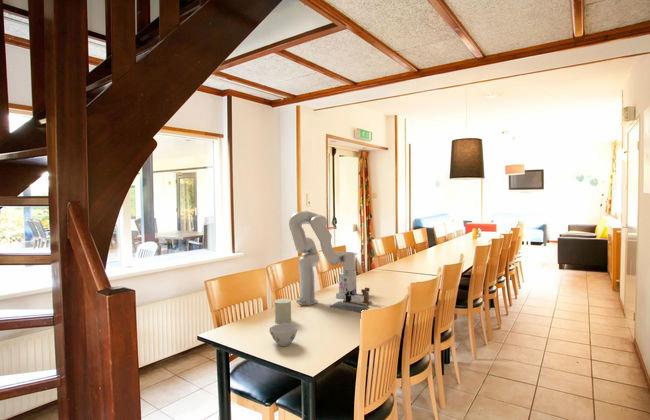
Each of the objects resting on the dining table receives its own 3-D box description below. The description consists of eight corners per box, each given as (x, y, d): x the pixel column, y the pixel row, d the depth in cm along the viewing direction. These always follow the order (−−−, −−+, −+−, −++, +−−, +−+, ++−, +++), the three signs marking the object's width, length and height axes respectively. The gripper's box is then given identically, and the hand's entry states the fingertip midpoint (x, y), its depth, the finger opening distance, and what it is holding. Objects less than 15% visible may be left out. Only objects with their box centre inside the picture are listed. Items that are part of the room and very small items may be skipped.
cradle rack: (366, 306, 227) (366, 290, 226) (342, 302, 236) (342, 287, 236) (371, 303, 234) (371, 287, 233) (348, 299, 243) (348, 284, 242)
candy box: (346, 298, 245) (345, 274, 244) (338, 297, 249) (338, 273, 248) (356, 293, 256) (356, 270, 255) (349, 292, 260) (349, 269, 259)
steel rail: (361, 302, 219) (361, 297, 219) (336, 298, 229) (336, 293, 229) (363, 301, 222) (363, 296, 222) (338, 297, 231) (338, 292, 231)
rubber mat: (360, 312, 215) (360, 311, 215) (329, 306, 227) (329, 305, 227) (368, 307, 224) (368, 306, 224) (338, 302, 236) (338, 301, 236)
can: (276, 324, 197) (275, 303, 197) (273, 319, 206) (273, 298, 206) (292, 322, 200) (292, 301, 199) (289, 317, 209) (289, 297, 208)
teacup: (302, 341, 174) (302, 325, 174) (286, 351, 163) (286, 334, 163) (278, 335, 182) (277, 320, 181) (261, 344, 171) (261, 328, 171)
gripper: (347, 275, 216) (348, 305, 216) (360, 270, 229) (360, 298, 230) (337, 274, 220) (337, 303, 220) (349, 269, 233) (350, 297, 234)
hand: (349, 301), depth 225 cm, fingers closed on steel rail, 3 cm apart
